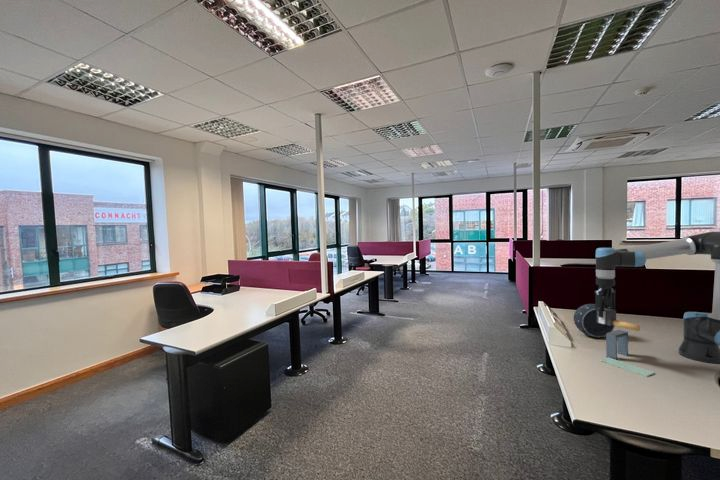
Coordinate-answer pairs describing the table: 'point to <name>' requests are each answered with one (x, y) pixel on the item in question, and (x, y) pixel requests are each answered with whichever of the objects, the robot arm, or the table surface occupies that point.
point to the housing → (612, 343)
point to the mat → (628, 367)
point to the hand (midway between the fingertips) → (605, 322)
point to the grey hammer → (611, 320)
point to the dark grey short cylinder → (590, 322)
